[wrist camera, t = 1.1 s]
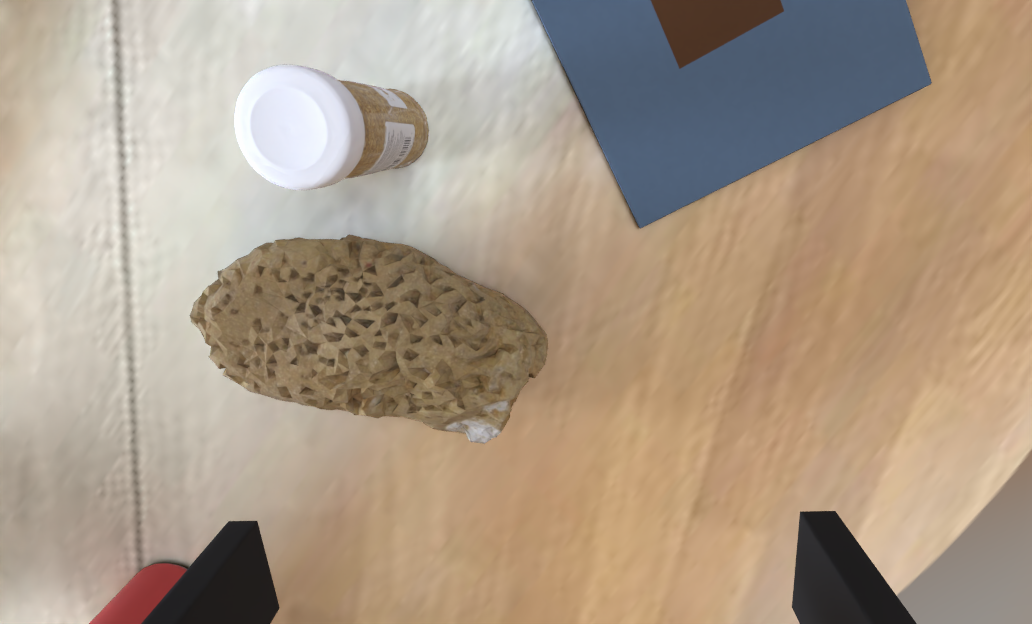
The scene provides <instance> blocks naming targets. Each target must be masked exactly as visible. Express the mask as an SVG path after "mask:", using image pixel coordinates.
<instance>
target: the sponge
mask: <svg viewBox="0 0 1032 624" xmlns="http://www.w3.org/2000/svg"><path fill="white" fill-rule="evenodd" d="M218 278H219V279H218V280H217V281H215V282H214V283H212V284H211V285H210V286H208V287H207V288H206V289H205V290H204V291H203V293H202V295H201V296H200V297H199V298H198V299H197V300H196V301H195V302H194V305H193V309H192V311H191V314H190V318H191V322H192V323H193V324H194V325H195V326H196V327H198V328H199V329H200V331H201V333H202V335H203V337H204V339H205V343H207V344H208V345H210V346H211V352H210V356H208V357H209V358H210V359H211V360H212V361H213V362H214V363H215V364H216V366H217V367H218V368H219V369H221V368H226V369H225V371H224V373H223V375H224V376H225V377H227V378H229V379H231V380H233V381H234V382H236V383H238V384H240V385H241V386H243V387H244V388H246V389H247V390H248V391H250V392H254V393H258V394H262V395H265V396H268V397H271V398H275V399H278V400H283V401H289V402H296V403H299V404H302V405H307V406H313V407H317V408H320V409H326V410H335V409H338V410H345V411H349V412H351V413H353V414H354V415H364V416H371V417H375V418H379V417H382V416H393V417H405V418H409V419H414V420H419V421H422V422H423V423H424V424H426V425H427V426H429V427H431V428H433V429H437V430H442V431H451V432H460V433H466V435H467V437H468V439H469V440H470V442H476V443H486V442H487V441H489V440H491V439H492V438H494V437H497V436H498V435H499V434H500V433H501V431H502V430H503V428H504V427H505V425H506V423H507V421H508V420H509V418H510V411H511V408H512V405H513V403H514V402H515V401H516V399H517V396H518V394H519V392H520V390H521V388H522V387H523V386H524V385H525V384H526V383H527V382H528V377H532V378H535V377H536V376H537V374H538V373H539V371H540V370H541V369H542V367H543V366H544V365H545V361H546V356H547V347H548V340H547V336H546V333H545V332H544V331H543V329H542V328H541V327H540V326H539V324H538V323H537V322H536V321H535V319H534V318H533V317H532V316H531V315H530V314H529V313H528V312H527V311H526V310H525V309H524V308H522V307H521V306H520V305H518V304H517V303H515V302H514V301H512V300H511V299H509V298H507V297H506V296H504V294H502V293H499V292H496V291H494V290H491V289H488V288H485V287H483V286H481V285H479V284H477V283H475V282H472V281H470V280H468V279H466V278H463V277H461V276H459V275H457V274H455V273H454V272H453V271H451V270H450V269H449V268H447V267H446V266H443V265H441V264H439V263H438V262H437V261H436V260H435V259H433V258H431V257H430V256H428V255H426V254H424V253H422V252H421V251H419V250H417V249H415V248H413V247H410V246H407V245H404V244H396V243H384V242H379V241H376V240H372V239H366V238H364V239H362V238H360V237H357V236H353V235H348V236H347V237H346V238H341V239H340V240H335V239H303V238H294V239H290V240H285V239H283V240H275V242H274V243H265V244H263V245H261V246H259V247H257V248H255V249H254V250H253V251H252V252H251V253H250V254H249V255H247V256H244V257H242V258H239V259H237V260H236V261H235V262H234V263H232V264H231V265H230V266H228V267H227V268H225V269H222V270H221V271H218Z"/></svg>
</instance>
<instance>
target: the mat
mask: <svg viewBox="0 0 1032 624" xmlns="http://www.w3.org/2000/svg"><path fill="white" fill-rule="evenodd" d="M532 2H533V4H534V7H535V9H536V11H537V13H538V15H539V17H540V19H541V21H542V23H543V26H544V28H545V30H546V32H547V34H548V36H549V38H550V40H551V42H552V45H553V47H554V49H555V51H556V53H557V55H558V57H559V59H560V61H561V64H562V66H563V68H564V70H565V72H566V74H567V76H568V78H569V80H570V83H571V85H572V87H573V89H574V91H575V93H576V95H577V97H578V100H579V102H580V104H581V106H582V108H583V110H584V112H585V114H586V116H587V119H588V121H589V123H590V125H591V127H592V129H593V131H594V133H595V135H596V138H597V140H598V142H599V144H600V146H601V148H602V150H603V152H604V154H605V157H606V159H607V161H608V163H609V165H610V167H611V169H612V171H613V173H614V176H615V178H616V180H617V182H618V184H619V186H620V188H621V190H622V193H623V195H624V197H625V199H626V201H627V203H628V205H629V207H630V209H631V212H632V214H633V216H634V218H635V220H636V222H637V224H638V226H639V228H642V227H644V226H646V225H648V224H650V223H652V222H654V221H656V220H658V219H660V218H662V217H664V216H666V215H668V214H670V213H672V212H674V211H676V210H678V209H680V208H682V207H684V206H686V205H688V204H690V203H692V202H694V201H696V200H698V199H700V198H702V197H704V196H706V195H708V194H710V193H712V192H714V191H716V190H718V189H720V188H722V187H724V186H726V185H728V184H730V183H733V182H735V181H737V180H739V179H741V178H743V177H745V176H747V175H749V174H751V173H753V172H755V171H757V170H759V169H761V168H763V167H765V166H767V165H769V164H771V163H773V162H775V161H777V160H779V159H781V158H783V157H785V156H787V155H789V154H791V153H793V152H795V151H797V150H799V149H801V148H803V147H805V146H807V145H809V144H811V143H813V142H815V141H817V140H819V139H821V138H823V137H825V136H827V135H829V134H831V133H833V132H835V131H837V130H839V129H841V128H843V127H845V126H847V125H849V124H851V123H853V122H855V121H857V120H859V119H861V118H863V117H865V116H867V115H869V114H871V113H873V112H875V111H877V110H879V109H881V108H883V107H885V106H887V105H889V104H891V103H893V102H895V101H898V100H900V99H902V98H904V97H906V96H908V95H910V94H912V93H914V92H916V91H918V90H920V89H922V88H924V87H926V86H928V85H930V84H931V83H932V82H931V79H930V76H929V73H928V70H927V67H926V63H925V60H924V57H923V54H922V51H921V47H920V44H919V41H918V38H917V35H916V32H915V28H914V25H913V22H912V19H911V16H910V12H909V9H908V6H907V3H906V0H532Z"/></svg>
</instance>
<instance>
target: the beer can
mask: <svg viewBox="0 0 1032 624" xmlns="http://www.w3.org/2000/svg"><path fill="white" fill-rule="evenodd" d="M186 571H187V568H185V567H183V566H180V565H176V564H171V563H157V564H154V565H151V566H148V567H145V568H143V569H142V570H141V571H140V572H139V573H137V574H136V575H135V576H134V577H133V578H132V579H131V580H130V581H129V582H128V584H127V585H126V586H125V587H124V588H123V589H122V590H121V591H120V592H119V593H118V594H117V595H116V596H115V597H114V598H113V599H112V600H111V601H110V602H109V603H108V604H107V605H106V606H105V607H104V608H103V610H102V611H101V612H100V613H99V614H98V615H97V616H96V617H95V618H94V619H93V620H92V621H91V622H90V623H89V624H141V623H142V622H143V621H144V620H145V619H146V617H147V616H148V615H149V614H150V613H151V612H152V610H153V609H154V608H155V607H156V606H157V605H158V603H159V602H160V601H161V600H162V599H163V597H164V596H165V595H166V594H167V593H168V592H169V590H170V589H171V588H172V587H173V586H174V585H175V583H176V582H177V581H178V580H179V579H180V578H181V576H182V575H183V574H184V573H185V572H186Z"/></svg>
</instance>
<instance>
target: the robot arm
mask: <svg viewBox="0 0 1032 624" xmlns="http://www.w3.org/2000/svg"><path fill="white" fill-rule="evenodd" d="M792 608H793V610H794V612H795V614H796V616H797V618H798V620H799V623H800V624H916V622H915V621H914V620H913V618H912V617H911V615H910V614H909V613H908V611H907V610H906V608H905V607H904V606H903V604H902V603H901V602H900V600H899V599H898V597H897V596H896V595H895V593H894V592H893V590H892V589H891V588H890V586H889V585H888V584H887V582H886V581H885V579H884V578H883V577H882V575H881V574H880V572H879V571H878V570H877V568H876V567H875V566H874V564H873V563H872V561H871V560H870V559H869V557H868V556H867V554H866V553H865V552H864V550H863V549H862V548H861V546H860V545H859V543H858V542H857V541H856V539H855V538H854V536H853V535H852V534H851V532H850V531H849V530H848V528H847V527H846V525H845V524H844V523H843V521H842V520H841V519H840V517H839V516H838V514H837V513H836V512H835V511H814V512H800V520H799V531H798V543H797V555H796V567H795V578H794V590H793V602H792ZM278 610H279V604H278V600H277V596H276V592H275V588H274V584H273V580H272V577H271V573H270V569H269V565H268V561H267V557H266V553H265V549H264V545H263V542H262V538H261V534H260V530H259V526H258V522H257V521H228V523H227V524H226V525H225V526H224V527H223V528H222V530H221V531H220V532H219V533H218V534H217V535H216V537H215V538H214V539H213V540H212V541H211V542H210V544H209V545H208V546H207V547H206V548H205V549H204V551H203V552H202V553H201V554H200V555H199V557H198V558H197V559H196V560H195V561H194V562H193V564H192V565H191V566H190V567H189V568H188V569H187V571H186V572H185V573H184V574H183V575H182V576H181V578H180V579H179V580H178V581H177V582H176V583H175V585H174V586H173V587H172V588H171V589H170V590H169V592H168V593H167V594H166V595H165V596H164V597H163V599H162V600H161V601H160V602H159V603H158V605H157V606H156V607H155V608H154V609H153V610H152V612H151V613H150V614H149V615H148V616H147V617H146V619H145V620H144V621H143V622H142V623H141V624H270V623H271V621H272V620H273V618H274V616H275V615H276V613H277V611H278Z"/></svg>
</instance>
